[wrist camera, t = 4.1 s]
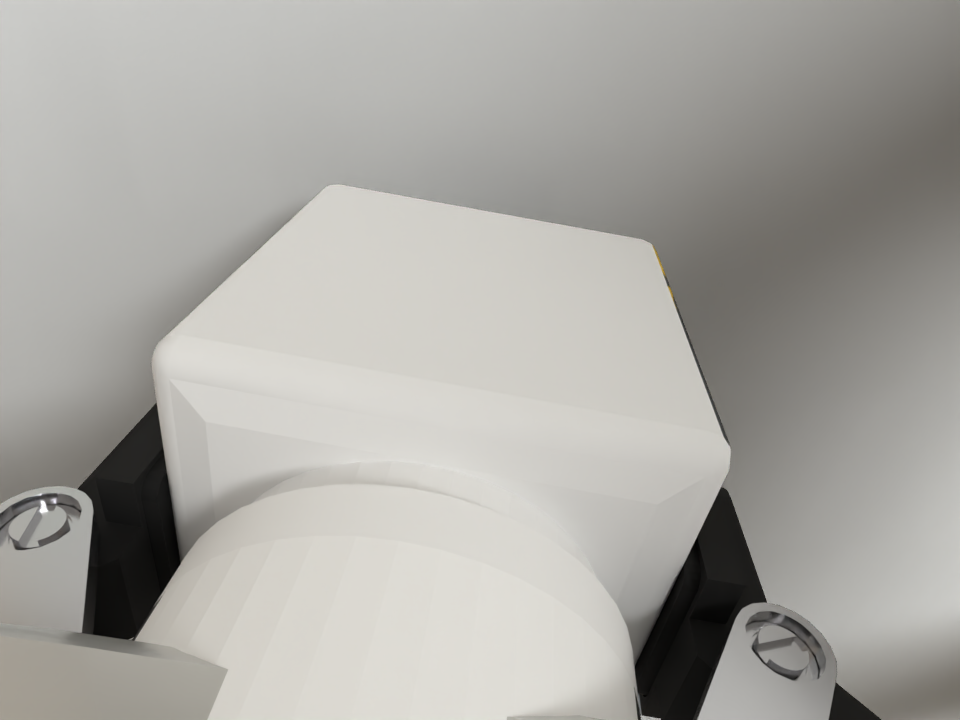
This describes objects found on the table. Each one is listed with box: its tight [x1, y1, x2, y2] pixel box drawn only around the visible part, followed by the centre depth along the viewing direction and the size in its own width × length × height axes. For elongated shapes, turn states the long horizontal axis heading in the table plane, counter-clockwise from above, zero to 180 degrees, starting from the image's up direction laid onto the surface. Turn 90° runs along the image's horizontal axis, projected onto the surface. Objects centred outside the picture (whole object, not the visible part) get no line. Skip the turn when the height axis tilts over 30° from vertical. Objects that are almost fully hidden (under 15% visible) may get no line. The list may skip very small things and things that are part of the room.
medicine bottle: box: [132, 184, 731, 720], centre depth 10 cm, size 7×7×12 cm
